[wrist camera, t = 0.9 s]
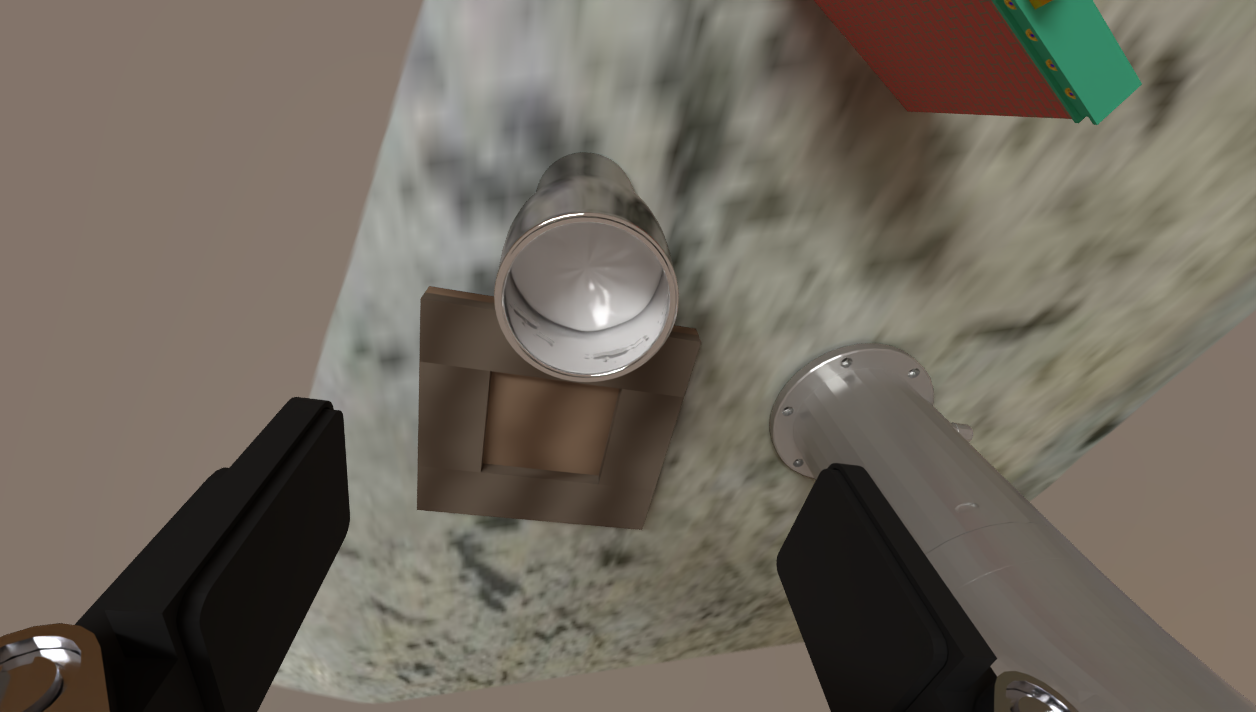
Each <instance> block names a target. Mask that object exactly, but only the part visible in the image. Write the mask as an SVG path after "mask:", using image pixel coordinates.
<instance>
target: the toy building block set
mask: <svg viewBox="0 0 1256 712" xmlns="http://www.w3.org/2000/svg"><path fill="white" fill-rule="evenodd" d="M814 1H815V2H816V3H817V4H818V6H819V7H820V8H821V9H822V10H823V11H824V13H825V14H826V15H827V16H828V17H829V19H830V20H831V21H832V22H833V23H834V24H835V26H836V27H837V28H838V29H839V30H840V32H841V33H842V34H843V35H844V36H845V37H846V39H847V40H848V41H849V42H850V43H851V45H852V46H853V47H854V48H855V49H856V50H857V52H858V53H859V54H860V55H861V56H862V58H863V59H864V60H865V61H866V62H867V63H868V65H869V66H870V67H871V68H872V69H873V71H874V72H875V73H876V74H877V75H878V76H879V78H880V79H881V80H882V81H883V82H884V84H885V85H886V86H887V87H888V88H889V89H890V91H891V92H892V93H893V94H894V95H895V97H896V98H897V99H898V100H899V101H900V102H901V104H902V105H903V106H904V107H905V108H906V110H907V111H909V112H932V113H954V114H976V115H998V116H1020V117H1042V118H1064V119H1073V121H1074V122H1075V123H1079V122H1081V121H1082V120H1083V119H1084V118H1085V117H1086V116H1087V117H1089V118H1090V120H1091V121H1092V123H1093V124H1094V125H1098V124H1099V123H1100V122H1101V121H1102V120H1103V119H1104V118H1105V117H1107V116H1108V115H1109V114H1110V113H1111V112H1112V111H1113V110H1114V109H1115V108H1116V107H1118V106H1119V105H1120V104H1121V103H1122V102H1123V101H1124V100H1125V99H1126V98H1127V97H1129V96H1130V95H1131V94H1132V93H1133V92H1134V91H1135V90H1136V89H1137V88H1138V87H1139V86H1141V85H1142V83H1141V82H1140V80H1139V78H1138V77H1137V75H1136V73H1135V71H1134V70H1133V68H1132V66H1131V65H1130V63H1129V61H1128V60H1127V58H1126V56H1125V54H1124V53H1123V51H1122V49H1121V48H1120V46H1119V44H1118V43H1117V41H1116V39H1115V38H1114V36H1113V34H1112V32H1111V31H1110V29H1109V27H1108V26H1107V24H1106V22H1105V21H1104V19H1103V17H1102V15H1101V14H1100V12H1099V10H1098V9H1097V7H1096V5H1095V4H1094V2H1093V0H814Z"/></svg>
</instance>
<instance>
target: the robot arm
mask: <svg viewBox="0 0 1256 712" xmlns="http://www.w3.org/2000/svg"><path fill="white" fill-rule="evenodd" d="M933 404H934V388H933V385H932V381H931V378H930V376H929V375H928V373H927V371H926V370H925V368H924V367H923V366H922V365H921V364H920V363H919V362H918V361H917V360H915V359H914V358H913V357H912V356H910V355H909V354H908V353H906V352H905V351H903V350H900V349H898V348H895V347H893V346H890V345H884V344H878V343H865V344H856V345H850V346H845V347H842V348H839V349H836V350H833V351H830V352H828V353H826V354H824V355H822V356H820V357H818V358H816V359H814V360H813V361H811V362H810V363H808V364H807V365H806V366H804V367H803V368H802V369H800V370H799V371H798V372H797V373H796V374H795V375H794V376H793V377H792V378H791V379H790V380H789V381H788V382H787V384H786V385H785V386H784V388H783V389H782V390H781V392H780V393H779V395H778V397H777V399H776V401H775V403H774V406H773V409H772V413H771V417H770V434H771V439H772V442H773V444H774V446H775V449H776V451H777V453H778V454H779V456H780V457H781V459H782V460H783V462H784V463H785V464H786V465H788V466H789V467H790V468H791V469H792V470H794V471H796V472H798V473H800V474H802V475H804V476H807V477H811V478H814V479H815V480H816V481H815V483H814V485H813V487H812V489H811V491H810V493H809V495H808V497H807V499H806V501H805V503H804V505H803V507H802V509H801V511H800V512H799V514H798V516H797V518H796V520H795V522H794V524H793V526H792V528H791V530H790V532H789V534H788V536H787V538H786V540H785V542H784V544H783V546H782V547H781V549H780V551H779V553H778V556H777V571H778V574H779V577H780V580H781V582H782V585H783V587H784V590H785V593H786V595H787V598H788V601H789V603H790V606H791V608H792V611H793V614H794V616H795V619H796V621H797V624H798V627H799V629H800V632H801V634H802V637H803V640H804V642H805V645H806V648H807V650H808V653H809V655H810V658H811V660H812V663H813V666H814V668H815V671H816V674H817V676H818V679H819V682H820V684H821V687H822V689H823V692H824V694H825V697H826V700H827V702H828V705H829V708H830V710H831V712H1256V705H1255V704H1253V703H1252V702H1251V701H1250V700H1248V699H1247V698H1246V697H1244V696H1243V695H1242V694H1241V693H1240V692H1238V691H1237V690H1236V689H1234V688H1233V687H1232V686H1231V685H1229V684H1228V683H1227V682H1226V681H1225V680H1223V679H1222V678H1221V677H1220V676H1219V675H1217V674H1216V673H1215V672H1214V671H1213V670H1212V669H1210V668H1209V667H1208V666H1207V665H1206V664H1204V663H1203V662H1202V661H1201V660H1200V659H1198V658H1197V657H1196V656H1195V655H1194V654H1192V653H1191V652H1190V651H1189V650H1187V649H1186V648H1185V647H1184V646H1183V645H1182V644H1180V643H1179V642H1178V641H1177V640H1176V639H1175V638H1173V637H1172V636H1171V635H1170V634H1169V633H1167V632H1166V631H1165V630H1164V629H1163V628H1162V627H1161V626H1159V625H1158V624H1157V623H1156V622H1155V621H1154V620H1153V619H1152V618H1151V617H1150V616H1149V615H1148V614H1146V613H1145V612H1144V611H1143V610H1142V609H1141V608H1140V607H1139V606H1138V605H1137V604H1136V603H1135V602H1133V601H1132V600H1131V599H1130V598H1129V597H1128V596H1127V595H1126V594H1125V593H1124V592H1123V591H1122V590H1120V589H1119V588H1118V587H1117V586H1116V585H1115V584H1114V583H1113V582H1112V581H1111V580H1110V579H1109V578H1107V577H1106V576H1105V575H1104V574H1103V573H1102V572H1101V571H1100V570H1099V569H1098V568H1097V567H1096V566H1095V565H1094V564H1093V563H1092V562H1091V561H1089V559H1088V558H1087V557H1085V556H1084V555H1083V554H1082V553H1081V552H1080V551H1079V550H1078V549H1077V548H1076V547H1075V546H1074V545H1073V544H1072V543H1071V542H1070V541H1069V540H1068V539H1067V538H1066V537H1065V536H1064V535H1063V534H1061V532H1060V531H1059V530H1057V529H1056V528H1055V527H1054V526H1053V525H1052V524H1051V523H1050V522H1049V521H1048V520H1047V519H1046V518H1045V517H1044V516H1043V515H1042V514H1041V513H1040V512H1039V511H1038V510H1037V509H1036V508H1035V507H1034V506H1033V505H1032V504H1031V503H1030V502H1029V501H1028V500H1027V499H1026V498H1025V497H1024V496H1023V495H1022V494H1021V493H1020V492H1019V491H1018V490H1017V489H1016V488H1015V487H1014V486H1013V485H1012V484H1011V483H1010V482H1009V481H1008V480H1006V479H1005V478H1004V477H1003V476H1002V475H1001V474H1000V473H999V472H998V471H997V470H996V469H995V468H994V467H993V466H992V465H991V464H990V463H989V462H988V461H987V460H986V459H985V458H984V457H983V456H982V455H981V454H980V453H979V452H978V451H977V450H976V449H975V448H974V447H973V446H972V445H971V444H970V443H969V441H970V440H971V439H972V437H973V430H972V428H971V426H969V425H966V424H959V423H950V422H949V421H948V420H947V419H946V418H945V417H944V416H943V415H942V414H941V413H940V412H939V411H938V410H937V409H936V408H935V407H934V406H933ZM349 522H350V509H349V494H348V479H347V464H346V449H345V434H344V419H343V413H342V411H339V410H334V409H333V405H332V403H331V402H330V401H325V400H317V399H309V398H300V397H294V398H291V399H290V400H289V401H288V402H287V403H286V404H285V405H284V406H283V408H282V409H281V410H280V411H279V412H278V413H277V414H276V416H275V417H274V418H273V419H272V420H271V421H270V422H269V424H268V425H267V426H266V427H265V428H264V429H263V430H262V432H261V433H260V434H259V435H258V436H257V437H256V438H255V439H254V441H253V442H252V443H251V444H250V445H249V447H247V449H246V450H245V451H244V452H243V453H242V454H241V455H240V456H239V458H238V459H237V460H236V461H235V462H234V463H233V464H232V466H231V467H230V468H222V469H220V470H217V471H216V472H215V473H213V474H212V475H211V476H210V477H209V478H208V479H207V480H206V481H205V482H204V483H203V484H202V485H201V487H200V488H199V489H198V490H197V491H196V492H195V493H194V494H193V495H192V496H191V497H190V499H189V500H188V501H187V502H186V503H185V504H184V505H183V506H182V507H181V508H180V509H179V511H178V512H177V513H176V514H175V515H174V516H173V517H172V518H171V520H169V522H168V523H167V524H166V525H165V526H164V527H163V528H162V529H161V530H160V532H159V533H158V534H157V535H156V536H155V537H154V538H153V539H152V540H151V541H150V542H149V544H148V545H147V546H146V547H145V548H144V549H143V550H142V551H141V552H140V553H139V555H138V556H137V557H136V558H135V559H134V560H133V561H132V562H131V563H130V564H129V565H128V567H127V568H126V569H125V570H124V571H123V572H122V573H121V574H120V575H119V576H118V578H117V579H116V580H115V581H114V582H113V583H112V584H111V585H110V587H108V589H107V590H106V591H105V592H104V593H103V594H102V595H101V596H100V598H99V599H98V600H97V601H96V602H95V603H94V604H93V605H92V606H91V607H90V608H89V609H88V611H87V612H86V613H85V614H84V615H83V616H82V617H81V618H80V619H79V620H78V622H77V623H76V624H75V625H70V624H63V623H57V624H48V625H40V626H33V627H30V628H27V629H23V630H20V631H17V632H13V633H10V634H6V635H4V636H2V637H0V712H257V711H258V709H259V707H260V705H261V703H262V701H263V699H264V697H265V695H266V693H267V691H268V689H269V687H270V685H271V683H272V681H273V679H274V677H275V676H276V674H277V672H278V670H279V668H280V666H281V664H282V662H283V660H284V658H285V656H286V654H287V652H288V650H289V648H290V646H291V644H292V642H293V640H294V638H295V636H296V634H297V632H298V630H299V628H300V626H301V624H302V622H303V620H304V618H305V616H306V614H307V612H308V610H309V608H310V606H311V604H312V602H313V600H314V598H315V596H316V594H317V592H318V590H319V588H320V586H321V584H322V582H323V580H324V578H325V577H326V575H327V573H328V571H329V569H330V567H331V565H332V563H333V561H334V559H335V557H336V555H337V553H338V551H339V549H340V547H341V545H342V543H343V541H344V539H345V537H346V534H347V531H348V527H349Z"/></svg>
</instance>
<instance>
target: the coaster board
mask: <svg viewBox="0 0 1256 712" xmlns="http://www.w3.org/2000/svg"><path fill="white" fill-rule="evenodd" d="M700 345H701V340H700V338H699V335H698V333H697V331H696V329H694V328H687V327H681V326H675V325H674V326H673V328H672V331H671V333H670V335H669V337H668V338H667V340H666V342H665V343H664V344H663V346H662V347H661V348H660V350H659V351H658V352H657V353H656V354H655V355H654V356H653V357H652V358H651V359H650V360H649V361H647V362H646V363H645V364H643V365H642V366H640V367H639V368H637V369H635V370H634V371H632V372H630V373H628V374H625V375H623V376H620V377H617V378H614V379H610V380H605V381H599V382H575V381H569V380H564V379H560V378H557V377H554V376H551V375H549V374H546V373H544V372H542V371H540V370H538V369H537V368H535V367H533V366H532V365H530V364H529V363H528V362H526V361H525V360H524V359H523V358H522V357H521V356H520V355H519V354H518V353H517V352H516V351H515V350H514V349H513V348H512V346H511V345H510V344H509V342H508V341H507V339H506V338H505V336H504V334H503V332H502V330H501V328H500V325H499V323H498V320H497V316H496V312H495V305H494V297H493V296H487V295H481V294H475V293H468V292H462V291H456V290H450V289H443V288H437V287H431V286H429V287H428V289H427V290H426V292H425V293H424V295H423V296H422V297H421V310H420V367H419V425H418V483H417V510H425V511H436V512H448V513H459V514H470V515H482V516H493V517H504V518H515V519H527V520H538V521H549V522H560V523H572V524H583V525H594V526H605V527H617V528H628V529H639V530H642V529H643V526H644V522H645V519H646V516H647V513H648V510H649V507H650V504H651V500H652V497H653V494H654V491H655V488H656V485H657V481H658V478H659V475H660V472H661V469H662V466H663V462H664V459H665V456H666V453H667V450H668V447H669V443H670V440H671V437H672V434H673V431H674V428H675V424H676V421H677V418H678V415H679V412H680V409H681V405H682V402H683V399H684V396H685V393H686V390H687V386H688V383H689V380H690V377H691V374H692V371H693V367H694V364H695V361H696V358H697V355H698V352H699V348H700Z"/></svg>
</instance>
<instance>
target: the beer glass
mask: <svg viewBox="0 0 1256 712" xmlns="http://www.w3.org/2000/svg"><path fill="white" fill-rule="evenodd" d="M494 305H495V312H496V316H497V320H498V323H499V325H500V328H501V330H502V332H503V334H504V336H505V338H506V339H507V341H508V342H509V344H510V345H511V346H512V348H513V349H514V350H515V351H516V352H517V353H518V354H519V355H520V356H521V357H522V358H523V359H524V360H525V361H526V362H528V363H529V364H530V365H532V366H533V367H535V368H537V369H538V370H540V371H542V372H544V373H546V374H549V375H551V376H554V377H557V378H560V379H564V380H569V381H575V382H599V381H605V380H610V379H614V378H617V377H620V376H623V375H625V374H628V373H630V372H632V371H634V370H635V369H637V368H639V367H640V366H642V365H643V364H645V363H646V362H647V361H649V360H650V359H651V358H652V357H653V356H654V355H655V354H656V353H657V352H658V351H659V350H660V348H661V347H662V346H663V344H664V343H665V342H666V340H667V338H668V337H669V335H670V333H671V331H672V328H673V326H674V323H675V320H676V316H677V312H678V305H679V290H678V283H677V278H676V275H675V272H674V269H673V264H672V260H671V255H670V251H669V248H668V245H667V242H666V239H665V236H664V233H663V231H662V229H661V227H660V225H659V223H658V221H657V219H656V218H655V216H654V215H653V213H652V211H651V210H650V208H649V207H648V206H647V204H646V203H645V202H644V201H643V200H642V199H641V198H640V197H639V196H638V195H637V194H636V193H635V192H634V189H633V186H632V184H631V181H630V180H629V178H628V176H627V175H626V173H625V172H624V171H623V170H622V168H621V167H620V166H619V165H617V164H616V163H615V162H614V161H612V160H611V159H609V158H607V157H604V156H602V155H599V154H595V153H589V152H578V153H573V154H569V155H566V156H564V157H562V158H560V159H558V160H557V161H555V162H554V163H553V164H552V165H550V166H549V168H548V169H547V170H546V171H545V172H544V174H543V175H542V177H541V179H540V181H539V183H538V186H537V190H536V193H534V194H533V195H532V196H531V197H530V198H529V199H528V200H527V201H526V202H525V204H524V205H523V206H522V208H521V209H520V211H519V212H518V214H517V216H516V217H515V219H514V221H513V222H512V224H511V226H510V229H509V231H508V234H507V237H506V240H505V243H504V246H503V250H502V254H501V259H500V264H499V270H498V273H497V277H496V281H495V287H494Z"/></svg>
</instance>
